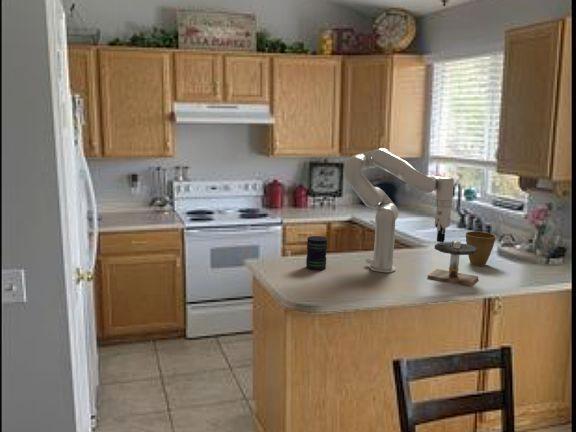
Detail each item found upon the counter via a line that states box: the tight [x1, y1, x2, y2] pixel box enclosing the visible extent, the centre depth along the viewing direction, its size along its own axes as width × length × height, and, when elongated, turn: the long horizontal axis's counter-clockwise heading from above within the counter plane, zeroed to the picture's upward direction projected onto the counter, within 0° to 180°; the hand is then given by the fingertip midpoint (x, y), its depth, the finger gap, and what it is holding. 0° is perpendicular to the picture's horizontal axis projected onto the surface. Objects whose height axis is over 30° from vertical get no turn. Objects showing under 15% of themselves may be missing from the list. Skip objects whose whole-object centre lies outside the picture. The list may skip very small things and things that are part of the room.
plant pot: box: [465, 230, 497, 267], centre depth 294 cm, size 15×15×16 cm
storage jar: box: [305, 235, 328, 272], centre depth 275 cm, size 10×10×15 cm
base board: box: [426, 268, 479, 287], centre depth 266 cm, size 20×14×2 cm
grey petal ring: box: [434, 241, 477, 256], centre depth 264 cm, size 18×18×2 cm
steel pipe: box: [448, 240, 462, 277], centre depth 265 cm, size 4×4×16 cm
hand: (440, 241), depth 267 cm, fingers closed
